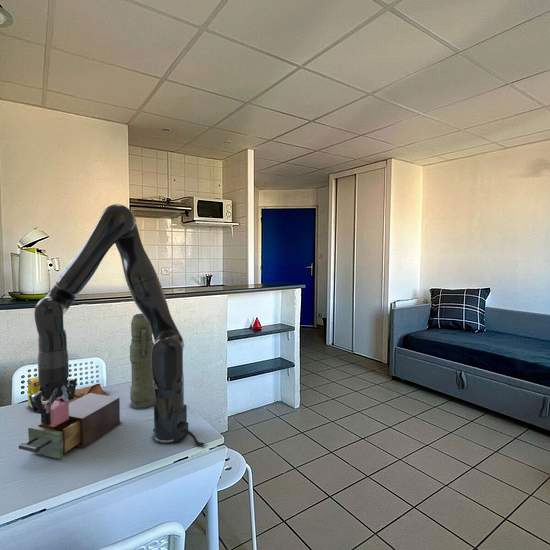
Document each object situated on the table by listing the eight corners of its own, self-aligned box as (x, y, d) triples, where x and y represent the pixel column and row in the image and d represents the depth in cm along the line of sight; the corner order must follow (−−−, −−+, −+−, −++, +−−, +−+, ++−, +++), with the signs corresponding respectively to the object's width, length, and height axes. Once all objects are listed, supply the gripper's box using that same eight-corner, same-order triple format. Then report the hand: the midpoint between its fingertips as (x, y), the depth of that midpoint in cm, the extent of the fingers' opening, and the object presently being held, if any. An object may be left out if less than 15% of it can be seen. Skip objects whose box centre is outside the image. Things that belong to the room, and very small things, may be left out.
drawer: (43, 469, 94) (42, 443, 93) (11, 461, 97) (10, 436, 96) (99, 433, 112) (98, 411, 112) (71, 427, 115) (70, 406, 115)
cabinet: (83, 447, 105) (82, 418, 105) (51, 440, 109) (49, 412, 108) (120, 423, 120) (119, 397, 120) (90, 417, 124) (89, 392, 123)
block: (69, 418, 105) (68, 402, 104) (54, 426, 100) (53, 410, 100) (56, 416, 106) (55, 400, 106) (40, 424, 101) (40, 407, 101)
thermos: (150, 395, 143) (149, 311, 140) (159, 406, 133) (158, 316, 131) (127, 400, 138) (125, 313, 135) (134, 412, 128) (133, 318, 126)
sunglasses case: (58, 410, 128) (55, 392, 130) (53, 414, 133) (50, 396, 134) (108, 395, 142) (105, 379, 143) (102, 399, 146) (99, 384, 148)
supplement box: (34, 411, 128) (33, 382, 127) (28, 407, 132) (27, 378, 131) (52, 406, 133) (51, 378, 132) (46, 401, 136) (45, 374, 135)
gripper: (40, 373, 94) (42, 434, 95) (83, 358, 108) (85, 411, 109) (19, 370, 96) (22, 430, 97) (64, 355, 110) (66, 408, 111)
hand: (55, 420), depth 103 cm, fingers closed on block, 5 cm apart
